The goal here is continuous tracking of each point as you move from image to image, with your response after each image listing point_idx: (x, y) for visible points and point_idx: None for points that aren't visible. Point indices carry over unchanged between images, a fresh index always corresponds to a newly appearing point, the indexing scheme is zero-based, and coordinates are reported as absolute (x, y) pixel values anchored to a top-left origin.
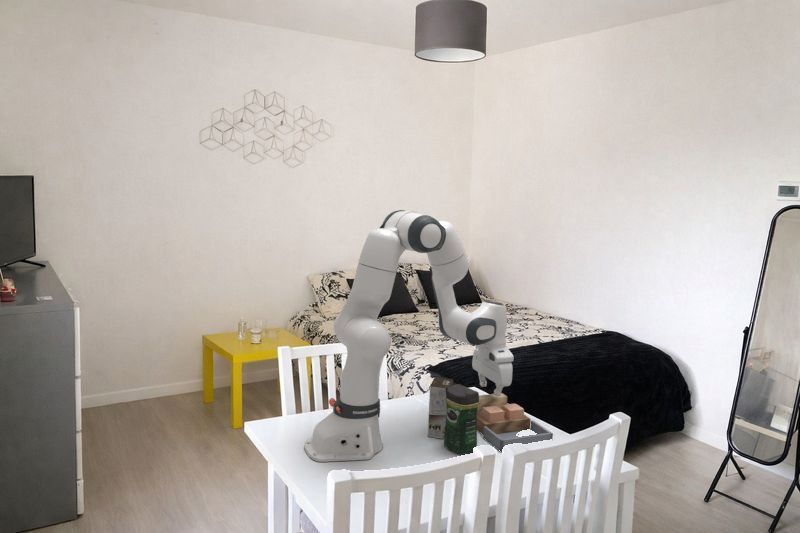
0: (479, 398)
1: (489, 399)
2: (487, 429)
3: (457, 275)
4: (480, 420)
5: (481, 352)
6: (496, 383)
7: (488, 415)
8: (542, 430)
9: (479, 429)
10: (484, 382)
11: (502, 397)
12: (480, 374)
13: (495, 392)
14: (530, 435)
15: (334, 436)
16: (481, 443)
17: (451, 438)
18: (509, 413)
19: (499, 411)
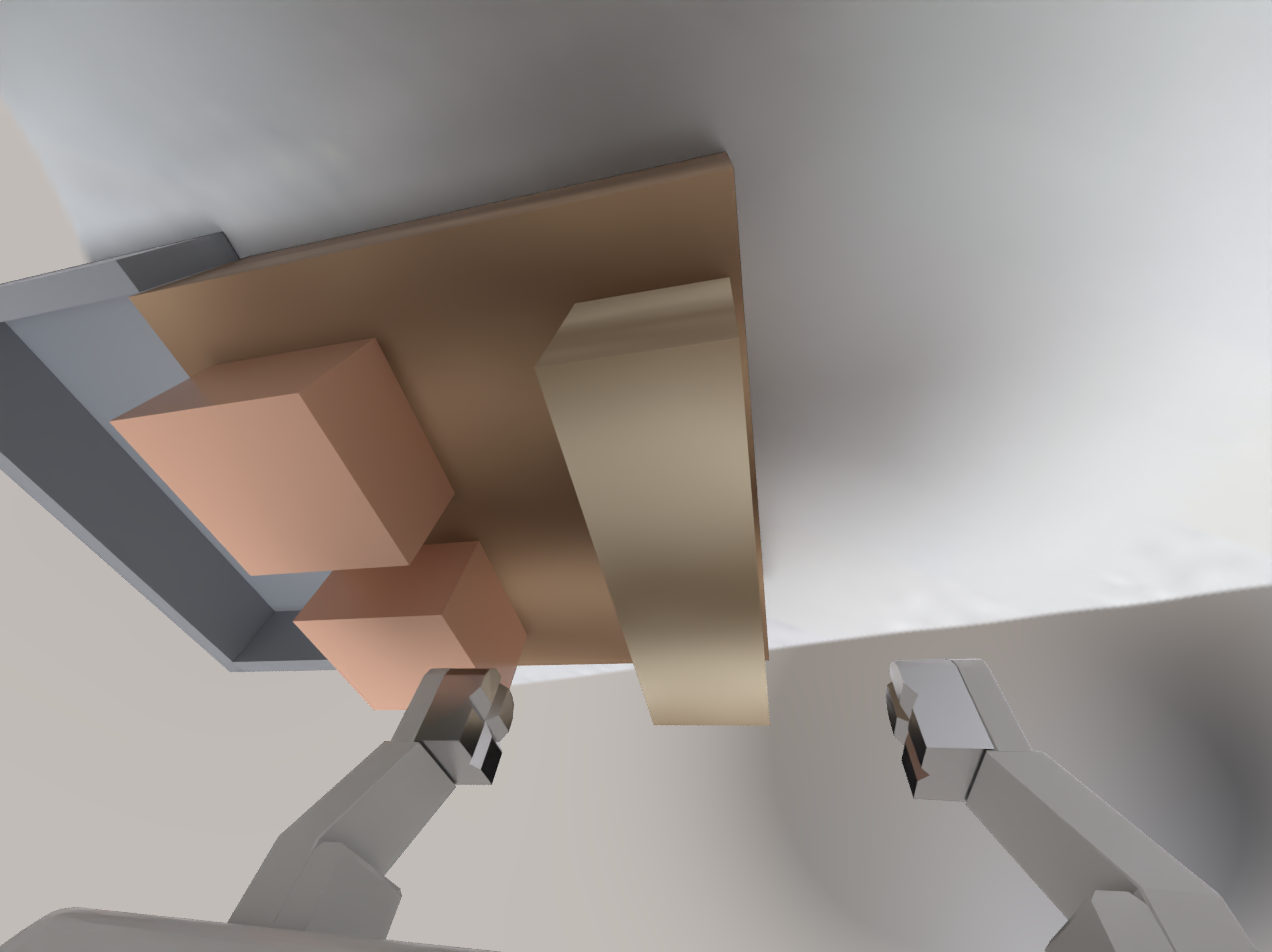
0: (612, 465)
1: (608, 568)
2: (48, 278)
3: None
4: (238, 273)
5: None
6: (161, 937)
7: (191, 391)
8: (301, 648)
9: (324, 242)
10: (918, 756)
11: (643, 688)
12: (1107, 942)
13: (423, 712)
14: (125, 567)
15: None
16: (67, 163)
17: None
18: (321, 594)
19: (228, 533)
